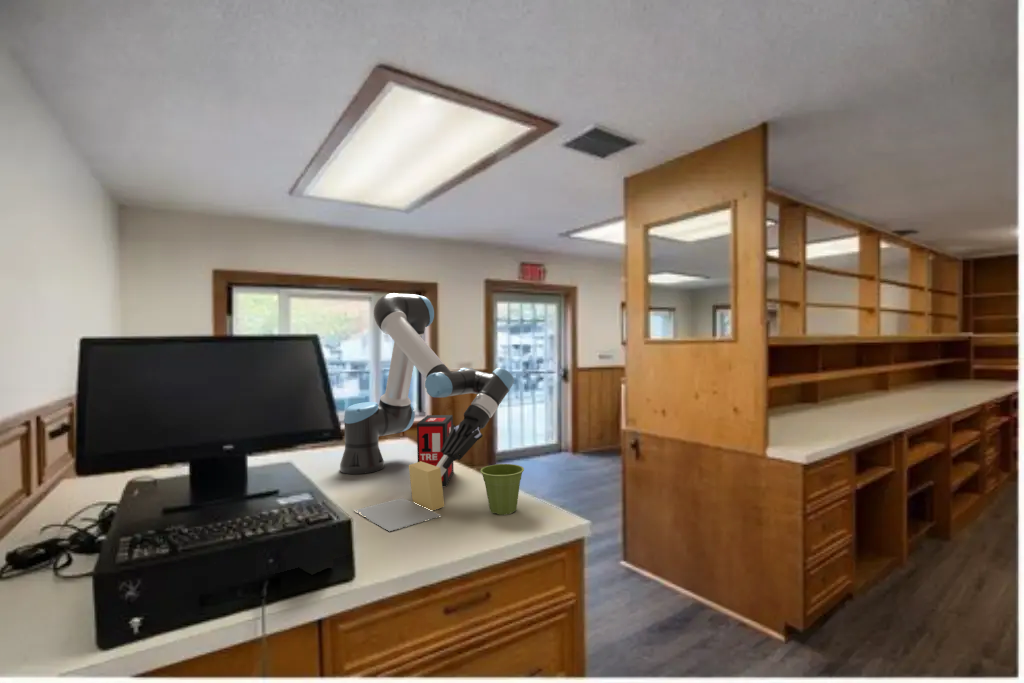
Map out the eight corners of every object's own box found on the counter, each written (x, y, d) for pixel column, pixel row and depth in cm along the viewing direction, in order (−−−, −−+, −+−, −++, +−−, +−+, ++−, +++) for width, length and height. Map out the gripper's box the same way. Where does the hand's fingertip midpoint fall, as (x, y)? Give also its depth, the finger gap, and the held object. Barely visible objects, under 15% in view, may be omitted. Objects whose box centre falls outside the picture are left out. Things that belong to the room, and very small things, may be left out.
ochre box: (412, 502, 141) (408, 465, 140) (424, 497, 144) (420, 461, 143) (432, 511, 134) (427, 472, 133) (444, 506, 136) (440, 467, 136)
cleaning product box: (428, 472, 173) (427, 415, 173) (453, 472, 172) (452, 415, 172) (417, 486, 156) (416, 423, 156) (445, 486, 156) (445, 423, 156)
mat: (353, 511, 134) (353, 510, 134) (402, 498, 145) (402, 497, 145) (389, 532, 120) (389, 531, 120) (441, 516, 130) (441, 515, 130)
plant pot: (507, 500, 142) (507, 461, 142) (533, 512, 132) (532, 470, 132) (472, 509, 135) (471, 468, 135) (496, 522, 125) (496, 477, 125)
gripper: (460, 401, 154) (414, 465, 143) (487, 405, 145) (440, 473, 134) (473, 416, 158) (430, 479, 147) (500, 421, 148) (456, 489, 137)
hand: (435, 476), depth 140 cm, fingers closed
